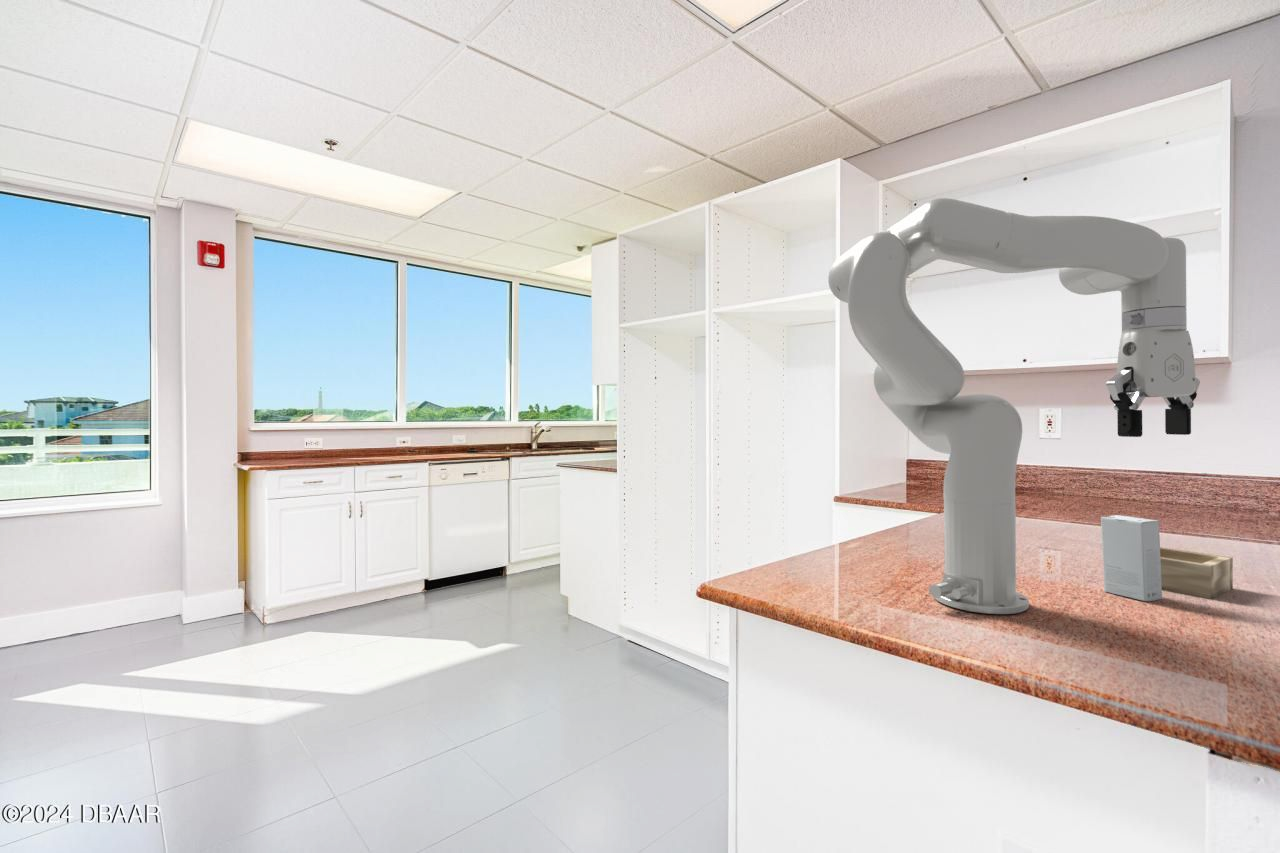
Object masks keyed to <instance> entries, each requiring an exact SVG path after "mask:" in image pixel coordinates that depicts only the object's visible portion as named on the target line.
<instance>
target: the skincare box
mask: <svg viewBox="0 0 1280 853" xmlns="http://www.w3.org/2000/svg"><path fill="white" fill-rule="evenodd" d="M1100 524H1101V525H1100V526H1101V546H1102V548H1101V549H1102V567H1103V568H1102V570H1103V571H1102V572H1103V590H1104V592H1106V593H1110V594H1114V595H1118V596H1121V597H1125V598H1129V599H1133V600H1139V601H1141V602H1142V601H1143V602H1154V601H1157V600H1161V599H1162V598H1163V593H1162V591H1163V590H1162V585H1161V559H1160V547H1161V542H1160V541H1161V538H1160V520H1157V519H1150V518H1149V519H1148V518H1141V517H1136V516H1135V517H1134V516H1127V515H1120V514H1115V515H1109V516H1108V515H1107V516H1101V517H1100Z"/></svg>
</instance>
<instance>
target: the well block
mask: <svg viewBox="0 0 1280 853" xmlns="http://www.w3.org/2000/svg"><path fill="white" fill-rule="evenodd" d="M1160 559H1161V585H1162V591H1166V592H1171V591H1172V593H1177V594H1181V593H1182V594H1183V595H1188V596H1191V597H1192V596H1194V597H1197V598H1201V599H1208V600H1211V599H1213V598H1216V597H1218V596H1220V595H1223V594H1224V593H1227V592H1229V591H1231V590H1233V584H1234V582H1233V581H1234V580H1233V579H1234V578H1233V572H1234V571H1233V569H1234V568H1233V566H1234V565H1233V562H1234V560H1233V556H1225V555H1218V554H1211V553H1204V552H1198V551H1197V552H1196V551H1192V550H1191V551H1189V550H1182V549H1178V548H1177V549H1175V548H1168V547H1163V546H1160Z"/></svg>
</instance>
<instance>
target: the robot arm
mask: <svg viewBox="0 0 1280 853" xmlns="http://www.w3.org/2000/svg"><path fill="white" fill-rule="evenodd" d="M1186 247H1187V245H1186V243H1185V242H1184V240H1182V239H1180V238H1175V237H1163V236H1162V235H1161V234H1160V233H1158V232H1156V230H1153V229H1151V228H1149V227H1147V226H1144V225H1141V224H1138V223H1134V222H1130V221H1126V220H1121V219H1117V218H1112V217H1106V216H1096V215H1095V216H1094V215H1036V216H1035V215H1034V216H1031V215H1030V216H1029V215H1024V214H1018V213H1014V212H1010V211H1006V210H1001V209H996V208H991V207H989V206H984V205H980V204H975V203H971V202H967V201H964V200H958V199H953V198H946V197H944V198H943V197H941V198H940V197H939V198H934V199H931V200H929V201H928V202H925V203H923V204H922V205H920V206H919V207H917V208H915V210H913V211H912V212H910V213H909V214H907V215H906V216H905V217H903V218H902V219H901V220H899V221H898V222H897V223H895V224H894V225H892V226H890V228H888V229H886V230H884V231H879V232H875V233H873V234H870V235H868V236H866V237H864V238H863V239H861V240H860V241H858V242H857V243H855V244H854V245H853V246H852V247H851V248H849V249H848V250H847V251H845V252H844V253H843V254H842V255H840V256H839V257H838V258H837V259H836V260H835V261H834V262H833V264H832V265H831V267H830V270H829V272H828V286H829V289H830V291H831V293H832V294H833V296H834V297H836V298H837V299H838V300H839V301H841V302H843V303H846V304H847V307H848V308H847V309H848V317H849V321H850V326H851V329H852V331H853V334H854V336H855V338H856V339H857V341H858V343H859V344H860V345H861V346H862V347H863V349H864V350H865V351H866V352H867V353H868V355H869V356H870V357H871V358H872V359H873V360H874V362H875V363H876V365H875V369H874V373H873V384H874V389H875V390H876V393H877V395H878V397H879V400H881V401H882V402H883V404H884V405H885V406H886V407H887V408H888V409H889V410H890V411H891V413H892V414H893V415H895V417H896V418H897V419H898V420H899V421H900V422H901V423H902V425H904V426H905V427H906V428H907V429H908V430H909V431H910V432H911V433H912V435H914V437H915V438H917V439H918V441H920V443H922V444H923V445H925V446H926V447H927V448H929V449H930V450H933V451H935V452H938V453H942V454H948V455H949V458H948V461H947V464H946V468H945V471H944V476H943V478H944V479H943V497H942V498H943V524H944V525H943V530H944V531H943V532H944V533H943V534H944V535H943V536H944V537H943V538H944V544H943V545H944V549H943V550H944V572H942V581H941V582H938V583H934V584H931V585H930V586H929V587H928V592H929V594H930V596H932V597H933V598H935V600H936V601H938V602H940V603H941V604H943V605H945V606H948V607H950V608H955V609H959V610H963V611H966V612H971V613H972V612H973V613H978V614H979V613H980V614H986V615H987V614H989V615H1010V614H1011V615H1013V614H1019V613H1023V612H1025V611H1027V610H1028V609H1029V607H1030V606H1029V605H1030V604H1029V603H1030V602H1029V598H1028V597H1027V596H1025V595H1024V594H1022V593H1020V592H1019V591H1017V533H1016V532H1017V531H1016V530H1017V528H1016V526H1017V525H1016V519H1017V518H1016V514H1017V512H1016V510H1017V508H1016V507H1017V506H1016V473H1017V472H1016V471H1017V463H1018V458H1019V452H1020V448H1021V444H1022V437H1023V423H1022V419H1021V416H1020V413H1019V411H1018V410H1017V409H1016V407H1015V406H1013V404H1012V403H1010V402H1009V401H1008V400H1006V399H1004V398H1002V397H999V396H997V395H993V394H985V393H981V394H980V393H979V394H978V393H977V394H963V395H962V394H961V395H959V394H960V393H961V391H962V390H963V388H964V387H963V386H964V385H965V380H966V377H965V375H966V374H965V372H964V368H963V365H962V364H961V363H960V360H959V359H957V358H956V356H955V355H954V354H953V353H952V352H951V351H950V350H949V349H948V348H947V347H946V346H945V345H944V344H943V343H942V341H941V340H939V339H938V338H937V337H936V336H935V335H934V334H933V333H932V331H930V330H929V328H928V327H927V326H926V325H925V324H924V323H923V322H922V320H921V319H920V318H919V317H918V316H917V315H916V314H915V312H914V310H912V307H911V306H910V303H909V301H908V298H907V297H908V296H907V292H906V291H907V290H906V288H907V287H906V286H907V277H909V276H910V275H913V273H915V272H917V271H919V270H920V269H922V268H923V267H925V266H928V265H929V264H931V263H933V262H935V261H937V260H942V261H947V262H952V263H957V264H960V265H966V266H970V267H974V268H978V269H982V270H986V271H987V270H988V271H990V272H995V273H1000V274H1022V273H1030V272H1037V271H1044V270H1051V269H1059V270H1058V278H1059V281H1060V283H1061V285H1062V286H1063V287H1064V288H1065V289H1066V290H1067V291H1069V292H1071V293H1072V294H1073V293H1074V294H1077V295H1082V296H1089V295H1097V294H1099V295H1100V294H1105V293H1109V292H1117V291H1118V292H1120V295H1121V298H1120V299H1121V300H1120V301H1121V306H1120V307H1121V336H1120V339H1119V347H1118V353H1117V361H1116V362H1117V363H1116V366H1117V367H1116V375H1114V376H1113V377H1111V378H1110V379H1108V380H1107V381H1106V383H1105V385H1106V389H1107V390H1108V393H1109V394H1110V395H1109V399H1110V401H1112V403H1113V404H1114V405H1113V409H1114V410H1115V411H1117V412H1116V413H1117V415H1116V416H1117V436H1118V437H1129V438H1131V437H1132V438H1140V437H1142V436H1143V409H1139V408H1140V407H1141V405H1142V403H1143V401H1144V399H1145V398H1161V397H1162V399H1163V400H1164V402H1165V403H1166V405H1167V407H1168V408H1165V412H1164V415H1165V416H1164V418H1165V419H1164V420H1165V421H1164V423H1165V425H1164V426H1165V427H1164V428H1165V430H1164V431H1165V434H1166V435H1178V436H1179V435H1181V436H1182V435H1184V436H1185V435H1190V434H1192V409H1193V408H1194V405H1195V404H1194V401H1195V400H1196V398H1197V395H1198V393H1197V392H1198V390H1199V386H1200V383H1201V382H1200V378H1197V377H1196V365H1195V354H1194V347H1193V342H1192V339H1191V334H1190V332H1189V330H1187V327H1188V326H1187V324H1188V323H1187V319H1188V318H1187V315H1188V314H1187V248H1186Z"/></svg>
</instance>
